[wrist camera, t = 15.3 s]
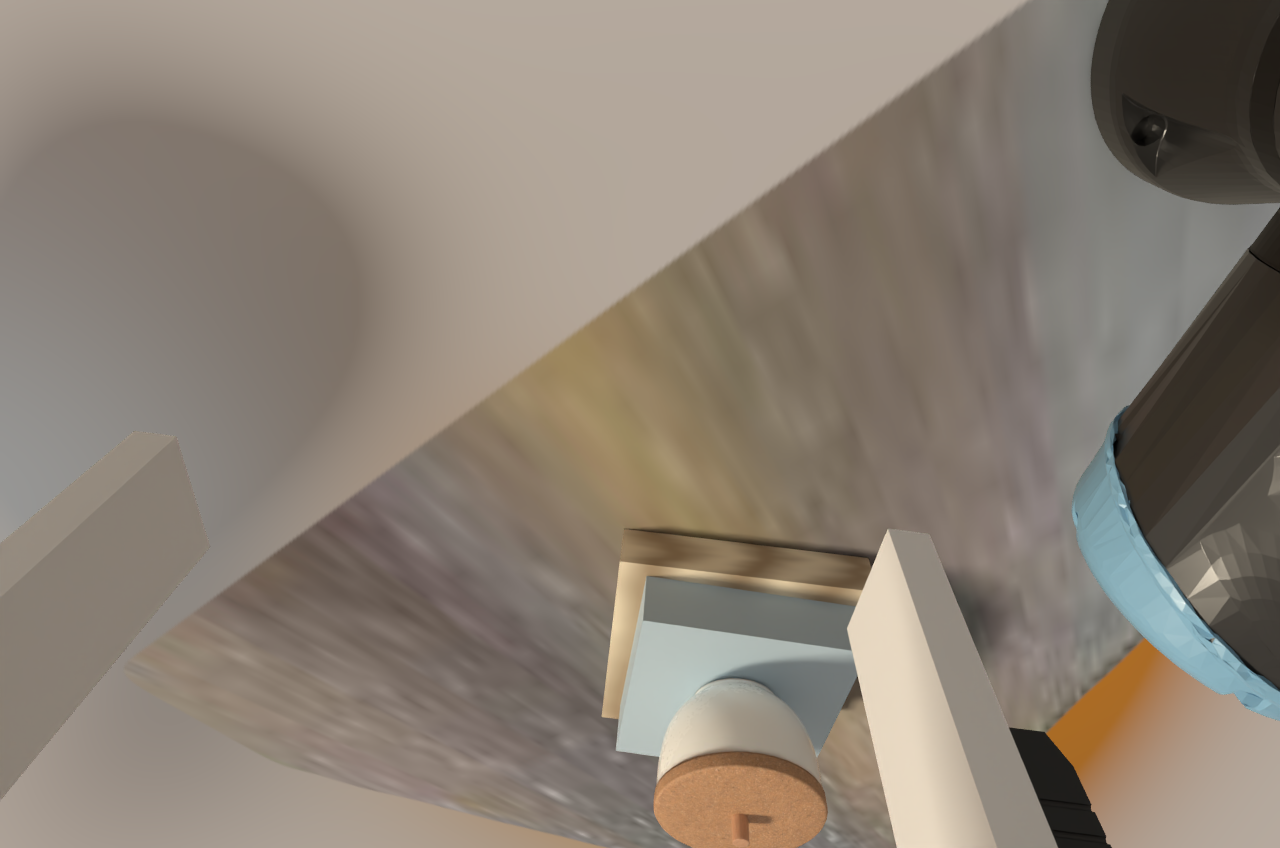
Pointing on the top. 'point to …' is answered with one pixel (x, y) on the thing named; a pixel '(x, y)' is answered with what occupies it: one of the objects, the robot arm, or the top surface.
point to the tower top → (732, 656)
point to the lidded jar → (738, 771)
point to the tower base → (718, 582)
